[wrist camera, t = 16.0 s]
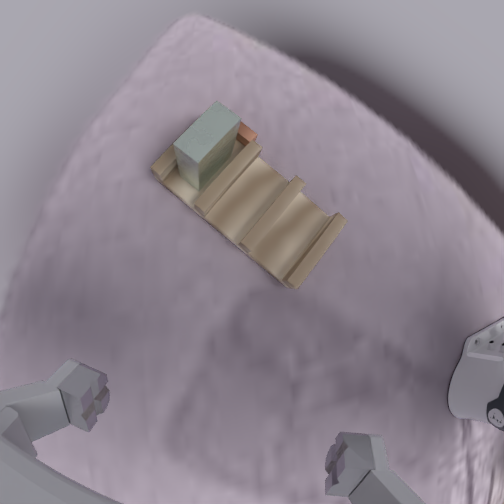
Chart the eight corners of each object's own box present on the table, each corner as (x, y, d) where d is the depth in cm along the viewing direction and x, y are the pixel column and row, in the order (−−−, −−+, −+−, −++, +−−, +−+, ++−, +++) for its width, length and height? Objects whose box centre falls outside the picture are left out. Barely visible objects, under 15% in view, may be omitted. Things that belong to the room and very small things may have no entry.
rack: (339, 218, 41) (354, 212, 37) (286, 287, 39) (297, 289, 35) (215, 116, 40) (217, 99, 35) (155, 179, 38) (150, 167, 34)
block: (231, 155, 38) (241, 118, 28) (199, 191, 37) (198, 163, 27) (212, 141, 38) (217, 100, 28) (180, 176, 37) (173, 143, 27)
